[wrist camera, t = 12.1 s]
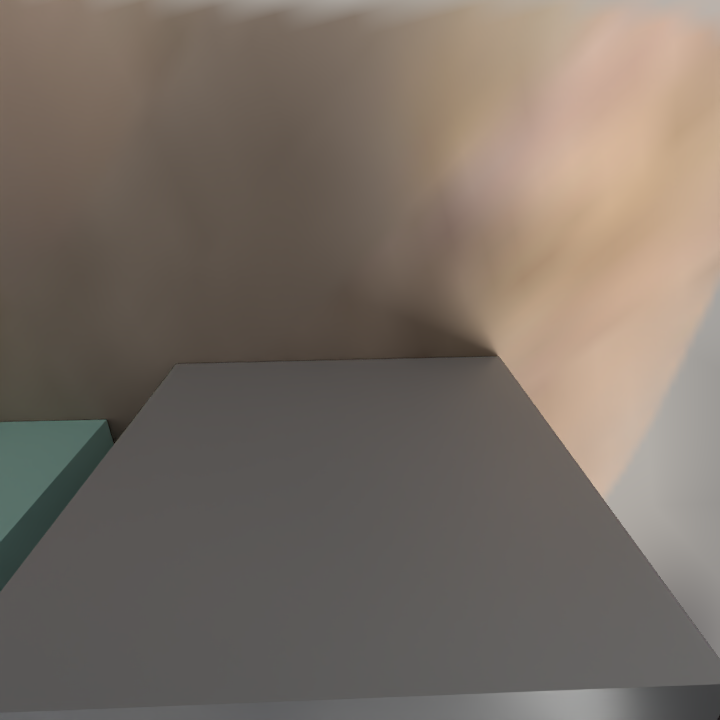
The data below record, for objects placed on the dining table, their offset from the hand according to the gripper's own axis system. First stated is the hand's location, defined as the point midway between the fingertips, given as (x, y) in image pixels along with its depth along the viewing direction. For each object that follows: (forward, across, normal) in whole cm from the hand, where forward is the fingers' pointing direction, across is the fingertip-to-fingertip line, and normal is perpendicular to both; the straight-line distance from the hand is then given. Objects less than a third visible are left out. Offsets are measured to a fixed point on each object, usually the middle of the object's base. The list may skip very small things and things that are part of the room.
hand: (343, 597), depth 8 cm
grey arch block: (+3, 0, 0) cm, 3 cm away
